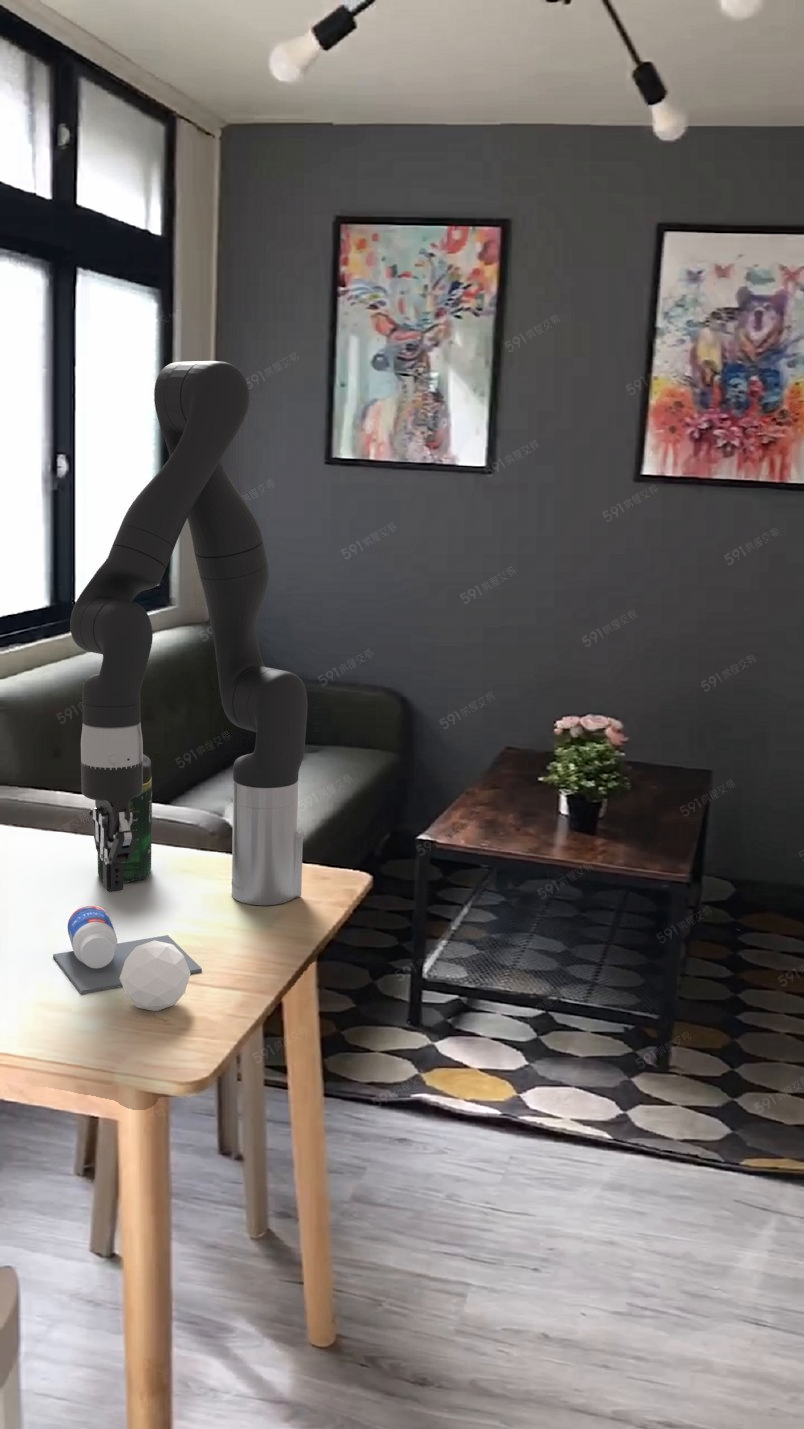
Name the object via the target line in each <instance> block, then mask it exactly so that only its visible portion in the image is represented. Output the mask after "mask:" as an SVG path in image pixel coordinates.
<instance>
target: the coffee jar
mask: <svg viewBox="0 0 804 1429" xmlns="http://www.w3.org/2000/svg"><path fill="white" fill-rule="evenodd" d="M152 779H153V778H152V761H151V759H150V758H149V756H147V755H146V754H144V753H143V791H142V793H141V794H140V795H139V796H138V797H136V798H132V799H131V800H130V801H129V808H130V810H131V811H132V824H131V825H130V831H131V830H137V833H138V839H137V842H136V845H135V848H134V851H133V854H132V857H131V859H130V862H124V863H123V879H124V883H125V884H126V883H130V882H133V881H139V880H140V881H141V880H145V879H147V877H149V874H150V872H151V870H152V831H153V830H152V828H153V827H152V825H153V786H152V784H153V780H152ZM103 862H104V861H102V860H101V858H100V852H97V874H98V876H99V878H100V879H101V880H103Z"/></svg>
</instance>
